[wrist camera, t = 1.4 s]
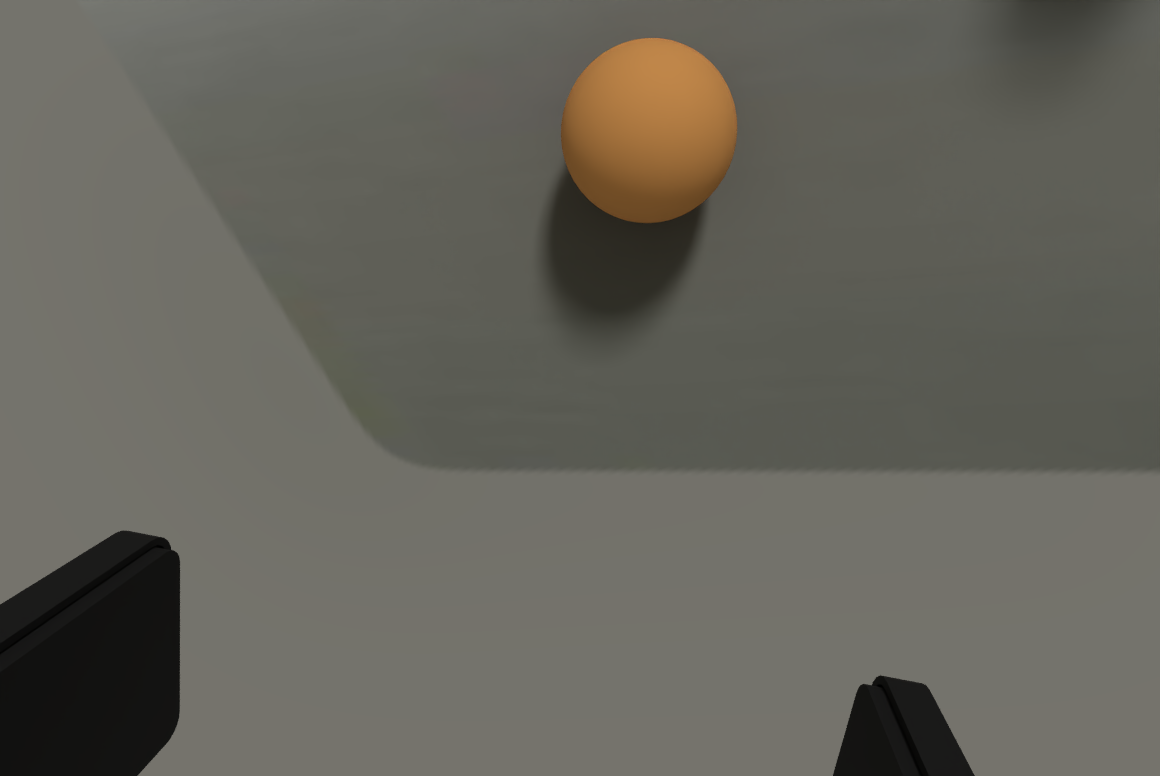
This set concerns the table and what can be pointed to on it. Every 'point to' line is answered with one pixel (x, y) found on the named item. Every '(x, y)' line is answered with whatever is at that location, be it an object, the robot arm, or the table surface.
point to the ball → (649, 130)
